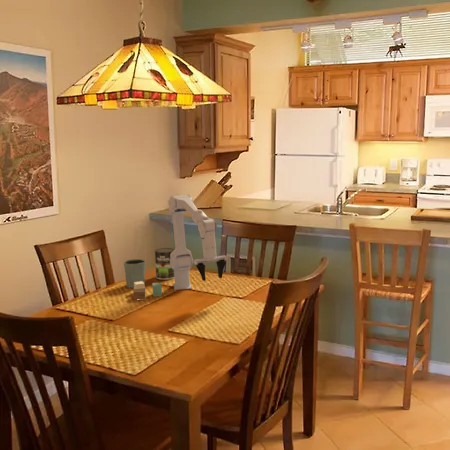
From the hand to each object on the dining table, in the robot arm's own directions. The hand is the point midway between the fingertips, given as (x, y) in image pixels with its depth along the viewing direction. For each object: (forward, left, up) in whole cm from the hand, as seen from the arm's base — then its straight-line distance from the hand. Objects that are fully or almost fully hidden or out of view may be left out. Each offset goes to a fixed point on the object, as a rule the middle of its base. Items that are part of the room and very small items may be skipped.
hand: (212, 279), depth 235 cm
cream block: (-21, -31, -11) cm, 39 cm away
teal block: (-17, -23, -11) cm, 31 cm away
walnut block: (-13, -31, -11) cm, 36 cm away
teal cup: (-34, -33, -11) cm, 49 cm away
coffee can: (-46, -18, -11) cm, 51 cm away
